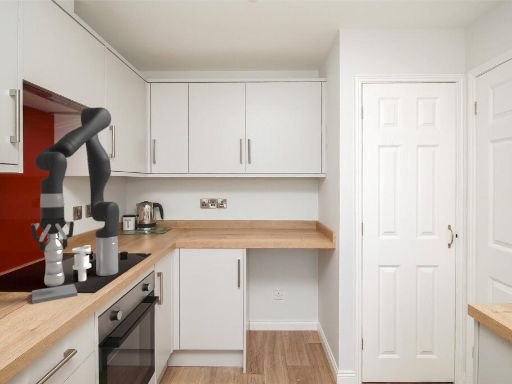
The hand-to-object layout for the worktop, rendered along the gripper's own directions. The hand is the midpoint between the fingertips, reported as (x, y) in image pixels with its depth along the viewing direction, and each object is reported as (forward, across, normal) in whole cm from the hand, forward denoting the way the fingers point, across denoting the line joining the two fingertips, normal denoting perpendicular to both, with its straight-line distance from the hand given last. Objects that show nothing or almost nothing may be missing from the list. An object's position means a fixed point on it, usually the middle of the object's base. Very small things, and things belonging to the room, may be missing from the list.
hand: (53, 249), depth 123 cm
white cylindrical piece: (+17, -11, -14) cm, 25 cm away
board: (+17, 0, 0) cm, 17 cm away
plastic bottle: (+14, 0, 0) cm, 14 cm away
